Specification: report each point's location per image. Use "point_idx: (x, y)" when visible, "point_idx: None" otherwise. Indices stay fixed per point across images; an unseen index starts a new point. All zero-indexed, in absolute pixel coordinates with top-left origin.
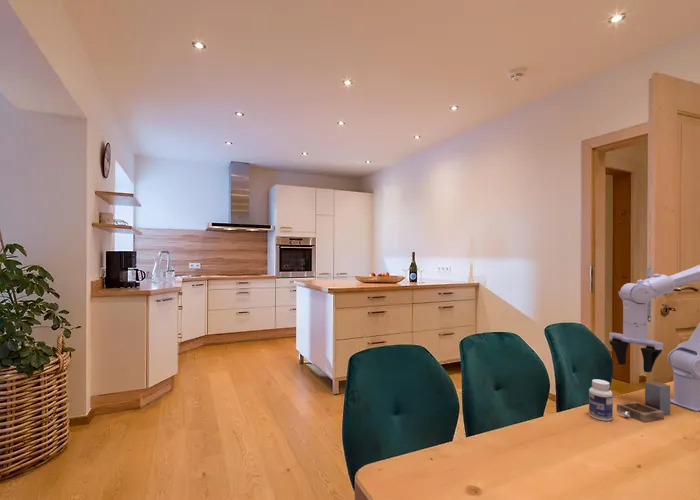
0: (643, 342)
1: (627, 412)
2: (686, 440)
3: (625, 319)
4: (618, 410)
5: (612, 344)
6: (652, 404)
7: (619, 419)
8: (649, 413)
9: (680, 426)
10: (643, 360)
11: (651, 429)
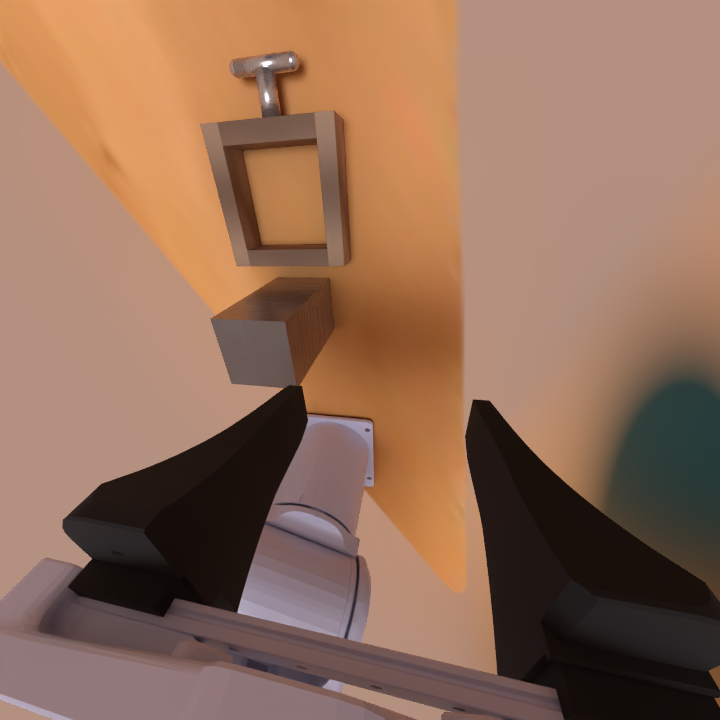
0: (83, 663)
1: (258, 84)
2: (88, 139)
3: None
4: (290, 56)
5: (634, 561)
6: (290, 287)
7: (254, 7)
8: (217, 175)
9: (199, 253)
10: (256, 432)
11: (159, 83)
